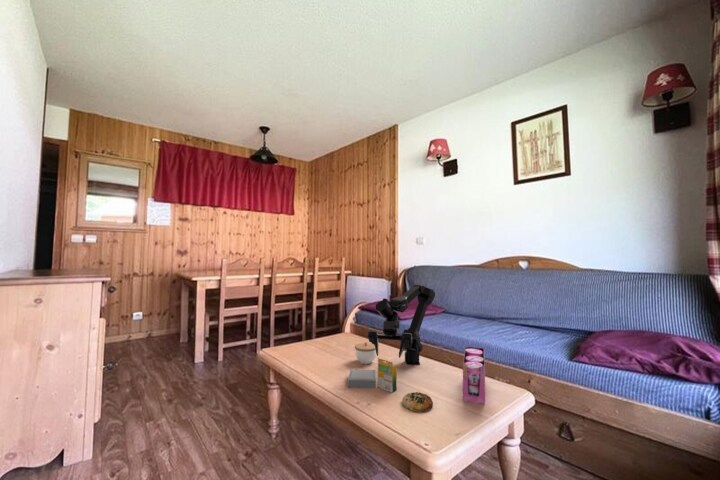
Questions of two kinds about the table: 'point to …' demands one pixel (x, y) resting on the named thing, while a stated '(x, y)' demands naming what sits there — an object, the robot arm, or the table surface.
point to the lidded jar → (365, 352)
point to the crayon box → (386, 375)
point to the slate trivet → (362, 379)
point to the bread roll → (417, 402)
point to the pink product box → (474, 375)
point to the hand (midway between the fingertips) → (388, 356)
